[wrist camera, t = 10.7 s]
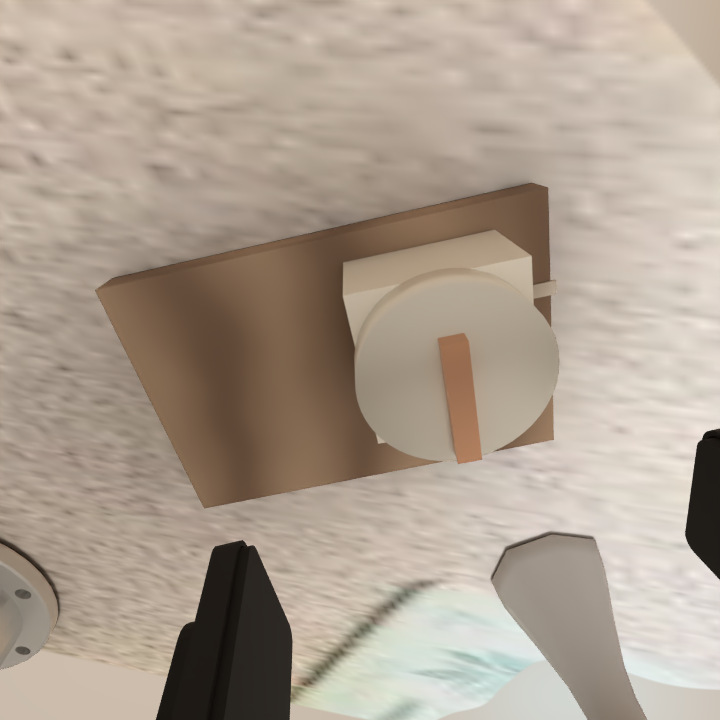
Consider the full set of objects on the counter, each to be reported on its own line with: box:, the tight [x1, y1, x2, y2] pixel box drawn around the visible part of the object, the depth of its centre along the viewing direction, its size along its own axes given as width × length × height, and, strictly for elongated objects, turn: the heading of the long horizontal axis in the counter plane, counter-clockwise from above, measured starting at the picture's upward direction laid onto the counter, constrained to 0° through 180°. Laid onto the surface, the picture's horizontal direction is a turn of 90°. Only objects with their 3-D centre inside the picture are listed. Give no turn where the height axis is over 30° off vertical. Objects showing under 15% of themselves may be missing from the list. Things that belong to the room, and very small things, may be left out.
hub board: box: [95, 183, 556, 508], centre depth 20 cm, size 18×12×5 cm, turn 102°
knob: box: [343, 230, 559, 464], centre depth 17 cm, size 6×6×6 cm
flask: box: [491, 535, 647, 720], centre depth 25 cm, size 7×7×10 cm
